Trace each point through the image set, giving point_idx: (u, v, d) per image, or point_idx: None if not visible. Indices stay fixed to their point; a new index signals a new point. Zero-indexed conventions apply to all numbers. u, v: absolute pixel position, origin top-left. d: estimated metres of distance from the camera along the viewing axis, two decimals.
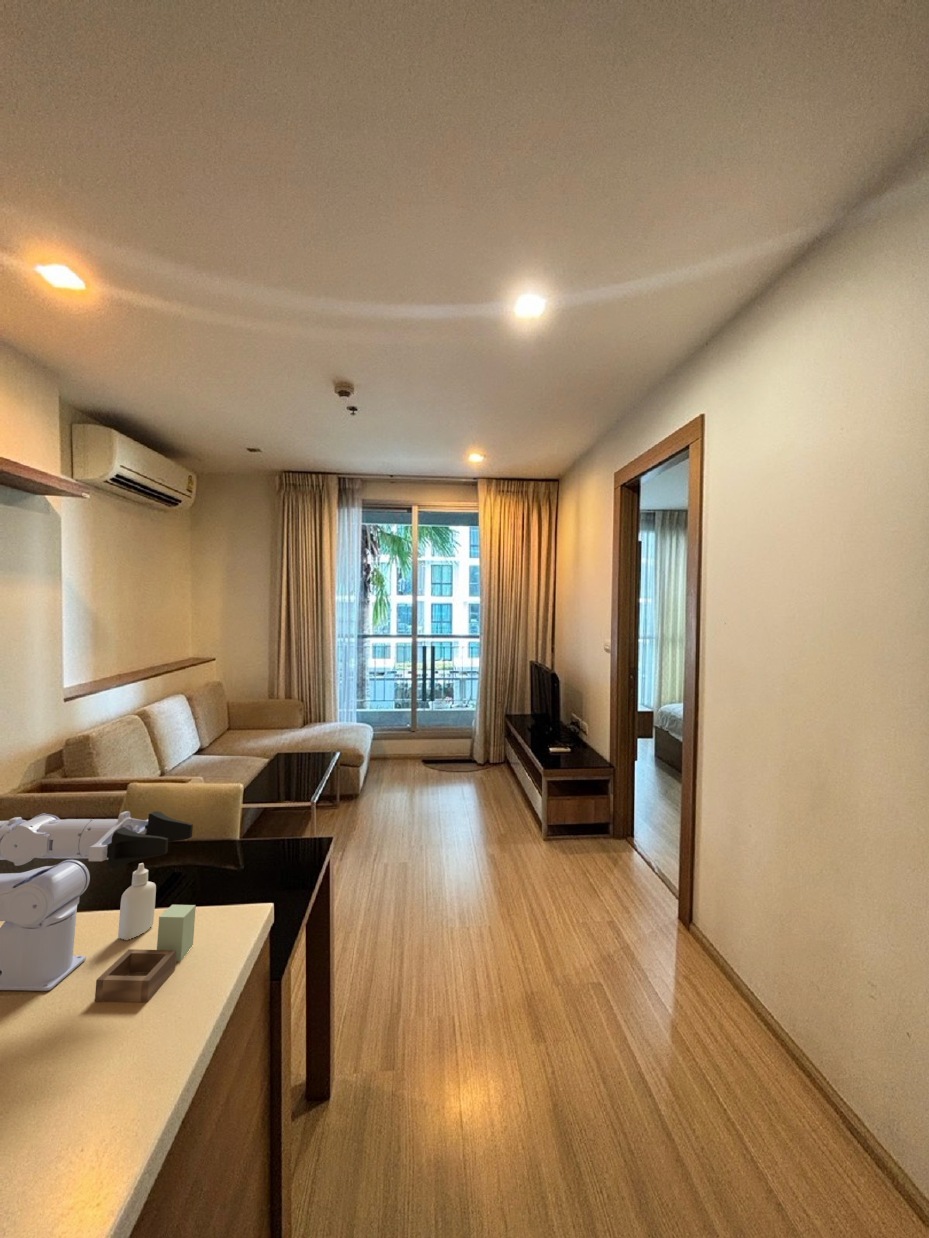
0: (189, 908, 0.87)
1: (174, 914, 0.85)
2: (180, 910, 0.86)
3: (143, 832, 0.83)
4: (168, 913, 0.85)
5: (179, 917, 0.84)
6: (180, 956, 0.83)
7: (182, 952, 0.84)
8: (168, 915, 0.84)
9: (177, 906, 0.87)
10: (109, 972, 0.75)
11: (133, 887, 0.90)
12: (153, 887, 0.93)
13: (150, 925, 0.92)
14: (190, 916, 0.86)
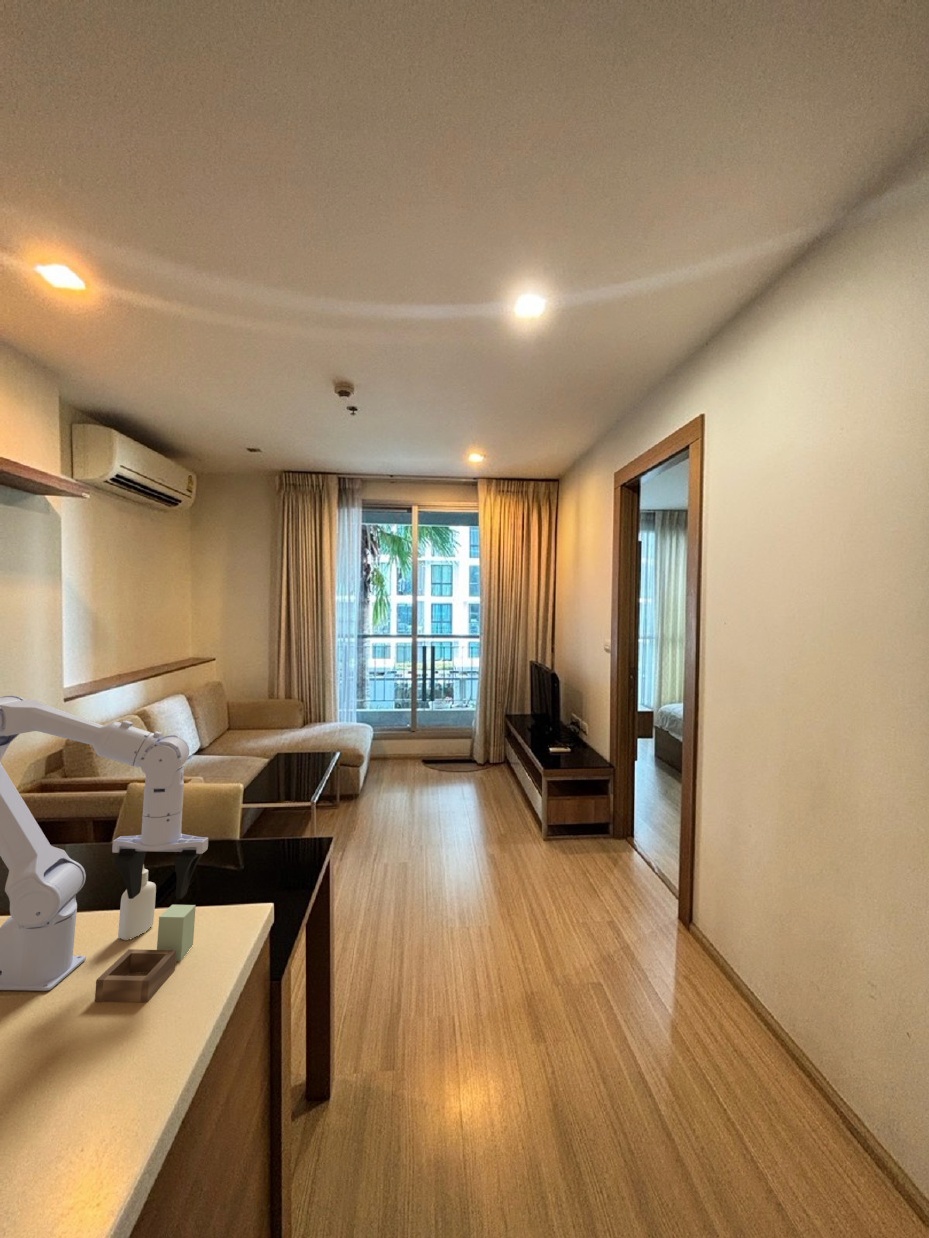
0: (189, 908, 0.87)
1: (174, 914, 0.85)
2: (180, 910, 0.86)
3: (142, 850, 0.84)
4: (168, 913, 0.85)
5: (179, 917, 0.84)
6: (180, 956, 0.83)
7: (182, 952, 0.84)
8: (168, 915, 0.84)
9: (177, 906, 0.87)
10: (109, 972, 0.75)
11: None
12: (153, 887, 0.93)
13: (150, 925, 0.92)
14: (190, 916, 0.86)
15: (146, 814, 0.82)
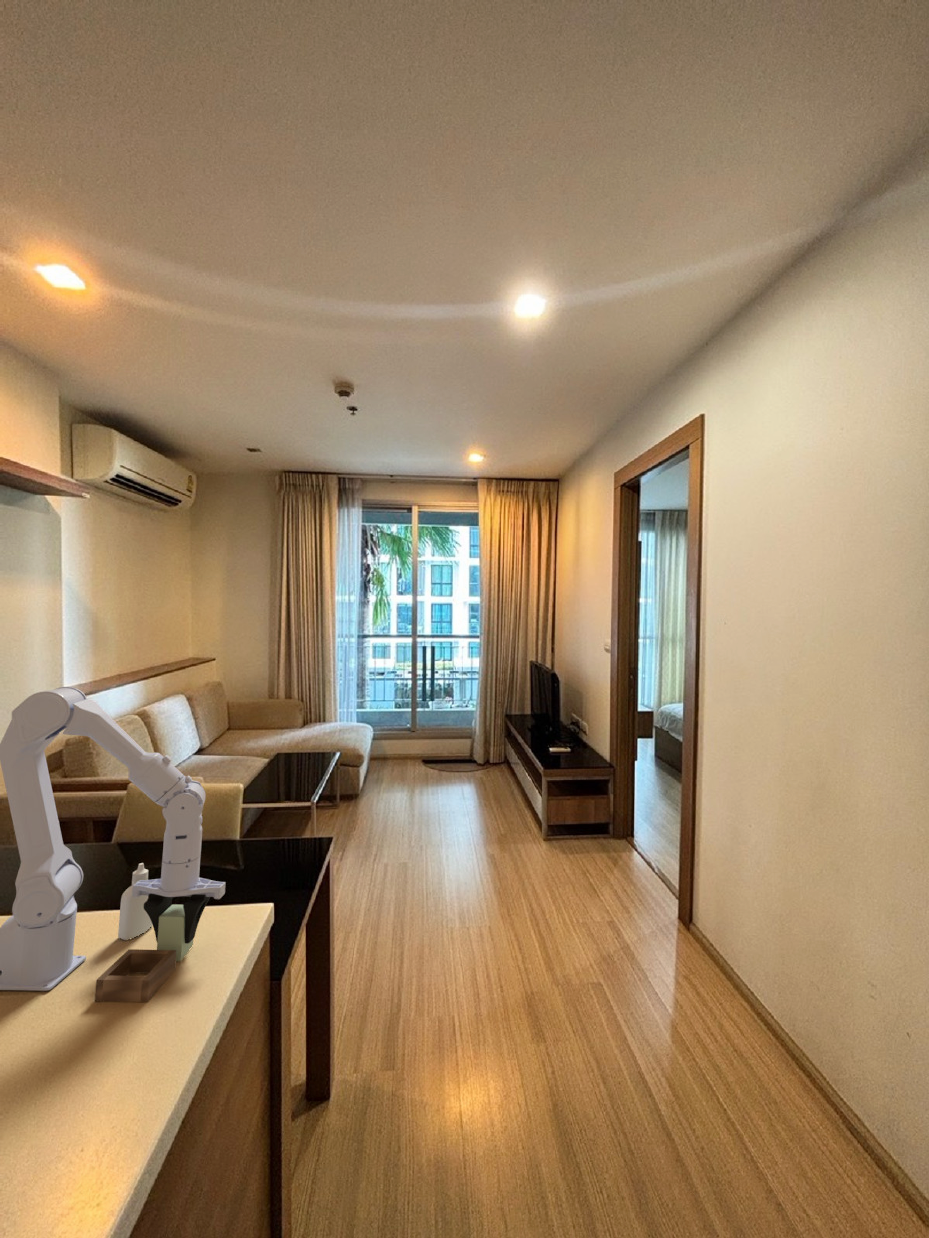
0: None
1: (174, 914, 0.85)
2: (180, 910, 0.86)
3: None
4: (168, 913, 0.85)
5: (179, 917, 0.84)
6: (180, 956, 0.83)
7: (182, 952, 0.84)
8: (168, 914, 0.84)
9: (177, 906, 0.87)
10: (109, 972, 0.75)
11: None
12: None
13: (150, 925, 0.92)
14: None
15: (167, 861, 0.84)
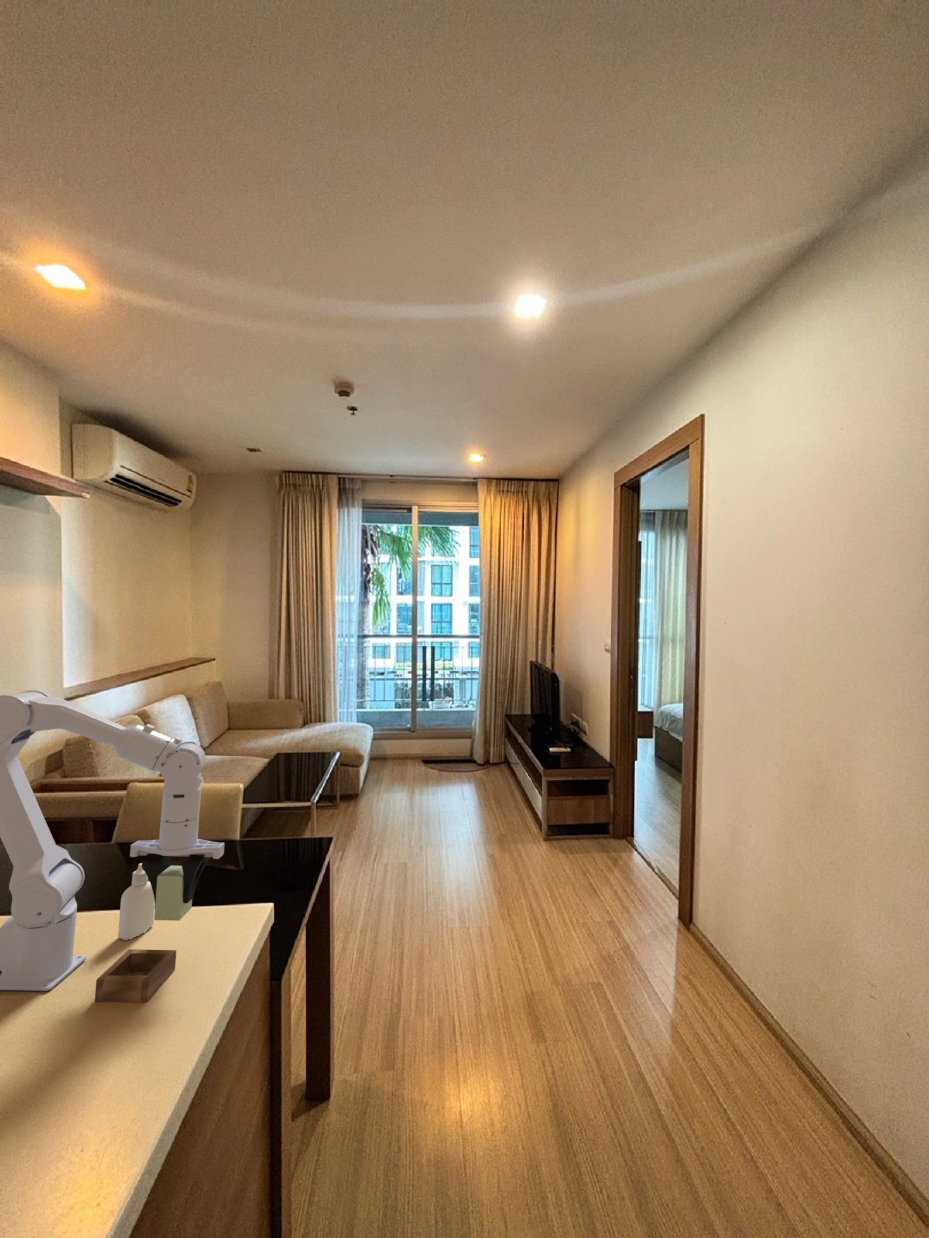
0: None
1: (172, 873, 0.84)
2: (179, 870, 0.85)
3: None
4: (166, 873, 0.84)
5: (177, 876, 0.83)
6: (179, 915, 0.83)
7: (181, 911, 0.83)
8: (166, 874, 0.84)
9: (176, 867, 0.87)
10: (109, 972, 0.75)
11: (133, 887, 0.90)
12: None
13: (150, 925, 0.92)
14: None
15: (165, 819, 0.83)
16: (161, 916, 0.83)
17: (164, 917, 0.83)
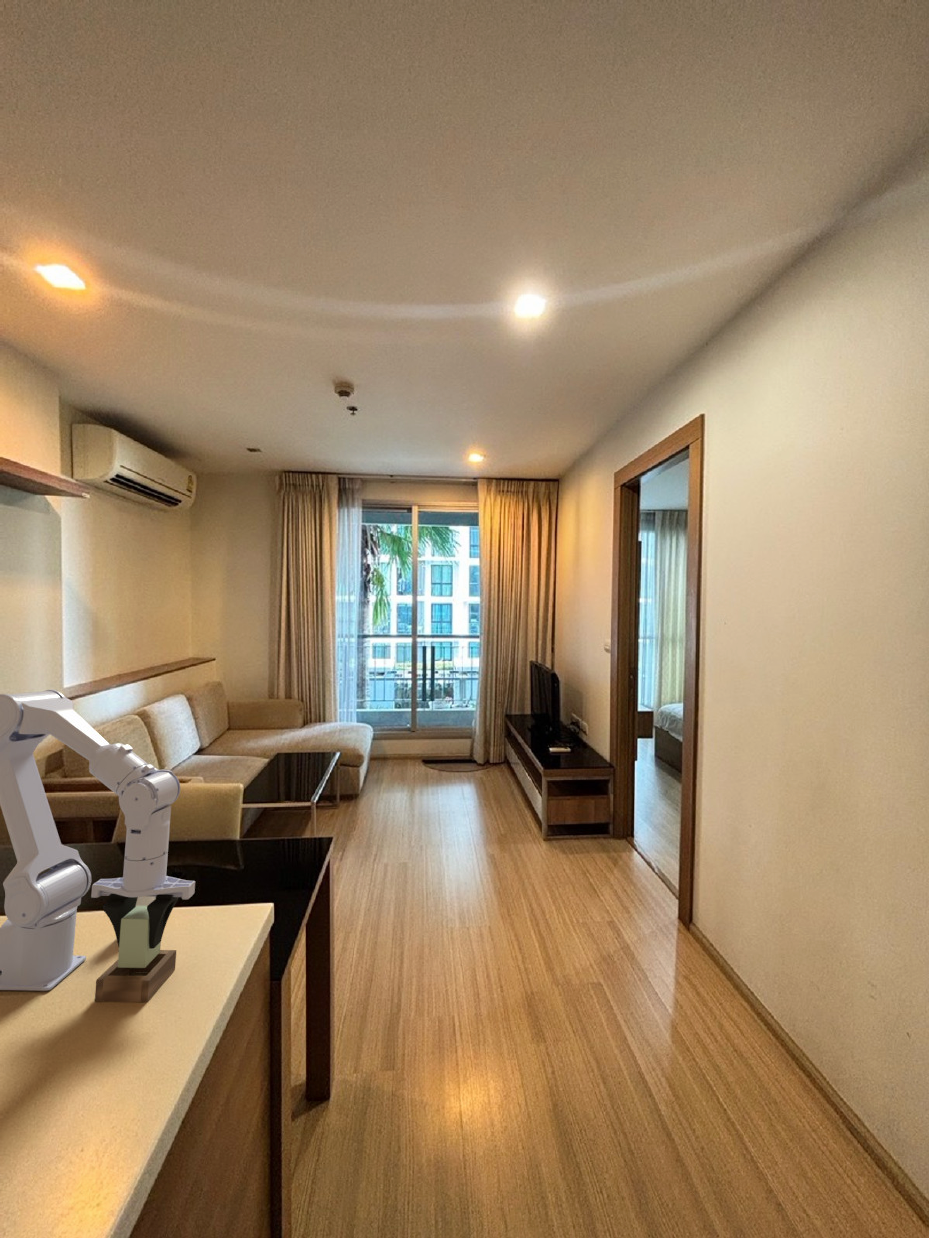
0: None
1: (138, 916, 0.77)
2: (146, 911, 0.78)
3: None
4: (132, 915, 0.77)
5: (143, 919, 0.76)
6: (144, 962, 0.76)
7: (147, 958, 0.76)
8: (131, 916, 0.77)
9: (143, 907, 0.79)
10: (109, 972, 0.75)
11: None
12: None
13: None
14: None
15: (125, 855, 0.77)
16: (125, 963, 0.76)
17: (128, 964, 0.76)
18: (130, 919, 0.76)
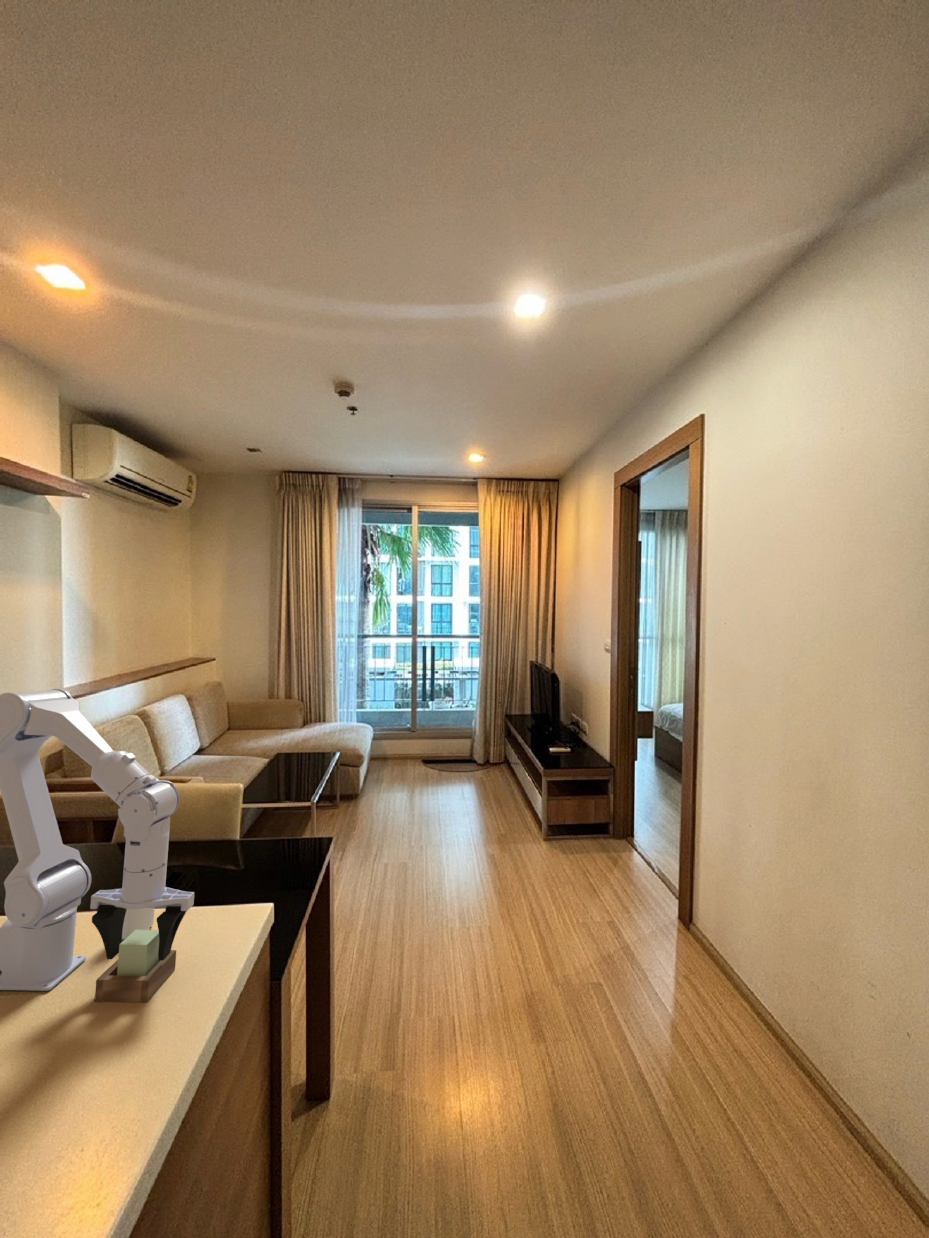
0: (154, 934, 0.79)
1: (136, 941, 0.77)
2: (144, 936, 0.78)
3: None
4: (130, 940, 0.77)
5: (141, 945, 0.76)
6: None
7: None
8: (129, 942, 0.76)
9: (141, 931, 0.79)
10: (109, 972, 0.75)
11: None
12: None
13: (150, 925, 0.92)
14: (155, 943, 0.78)
15: (124, 867, 0.76)
16: None
17: None
18: (128, 944, 0.76)
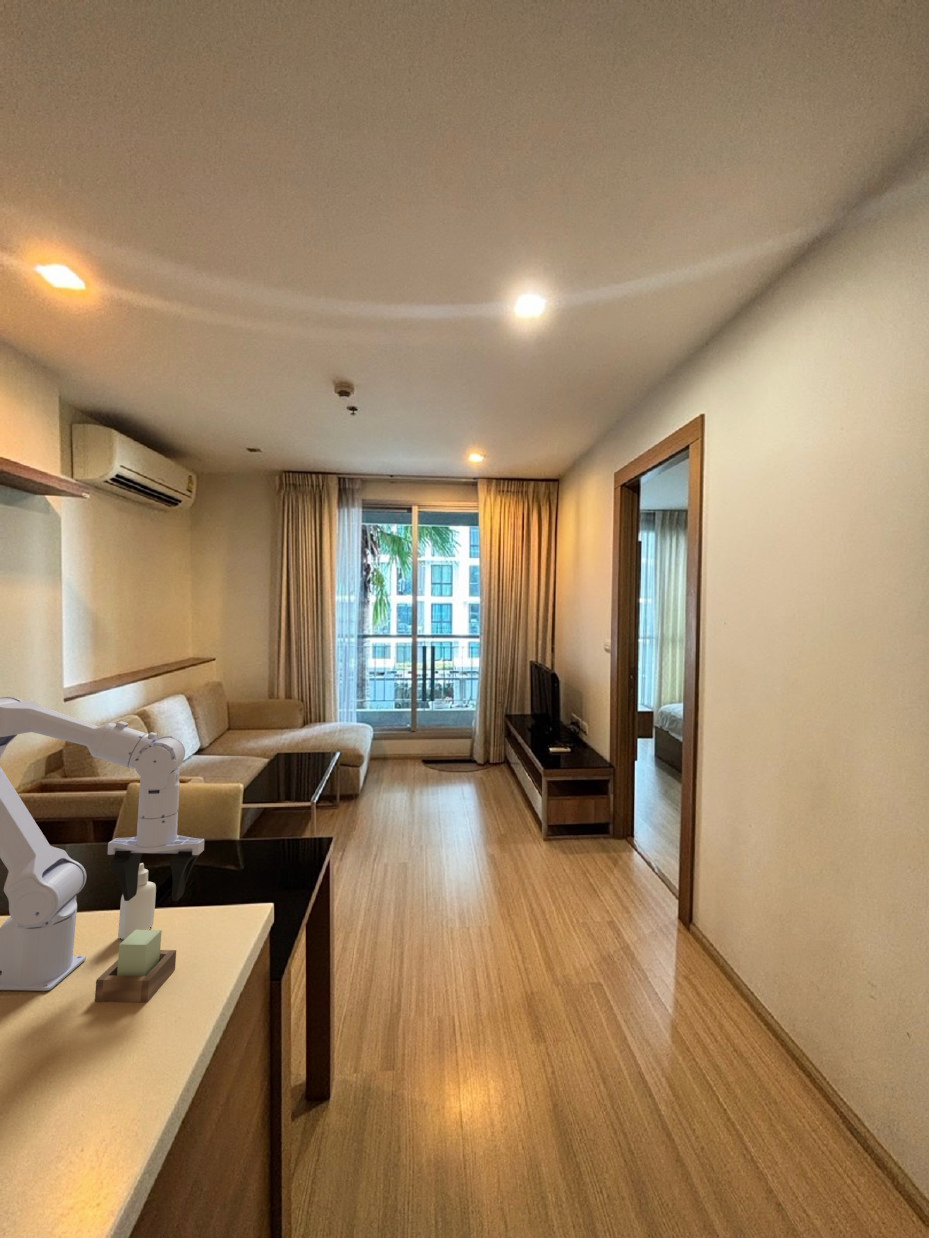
0: (154, 934, 0.79)
1: (136, 941, 0.77)
2: (144, 936, 0.78)
3: (138, 851, 0.83)
4: (130, 940, 0.77)
5: (141, 945, 0.76)
6: None
7: None
8: (129, 942, 0.76)
9: (141, 931, 0.79)
10: (109, 972, 0.75)
11: None
12: (153, 887, 0.93)
13: (150, 925, 0.92)
14: (155, 943, 0.78)
15: (141, 815, 0.81)
16: None
17: None
18: (128, 944, 0.76)
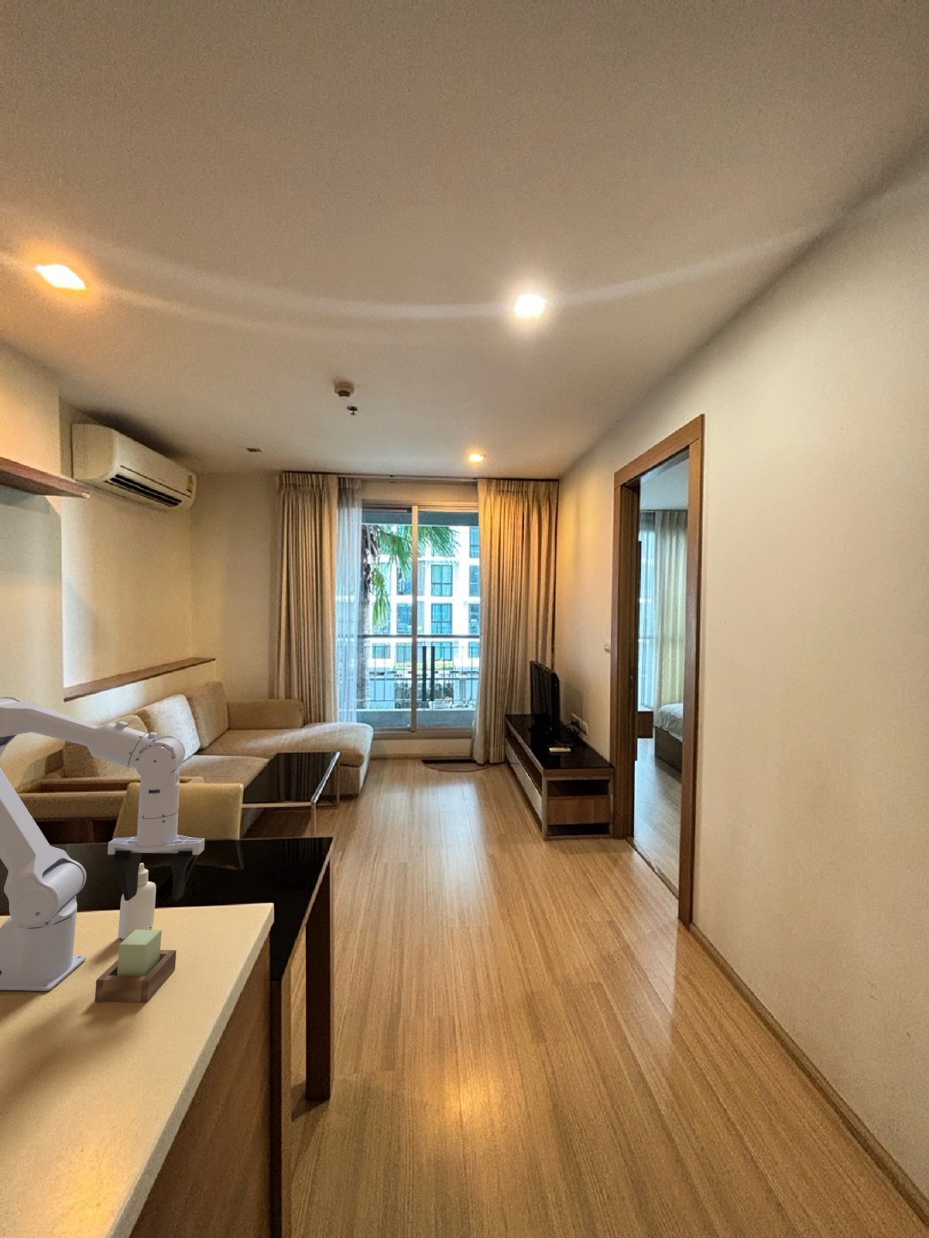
0: (154, 934, 0.79)
1: (136, 941, 0.77)
2: (144, 936, 0.78)
3: (138, 851, 0.83)
4: (130, 940, 0.77)
5: (141, 945, 0.76)
6: None
7: None
8: (129, 942, 0.76)
9: (141, 931, 0.79)
10: (109, 972, 0.75)
11: None
12: (153, 887, 0.93)
13: (150, 925, 0.92)
14: (155, 943, 0.78)
15: (141, 815, 0.81)
16: None
17: None
18: (128, 944, 0.76)
